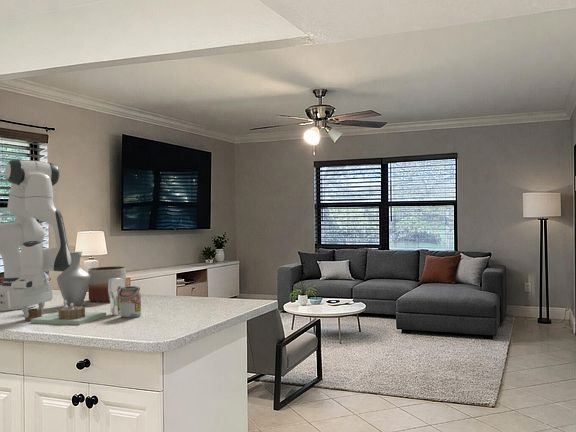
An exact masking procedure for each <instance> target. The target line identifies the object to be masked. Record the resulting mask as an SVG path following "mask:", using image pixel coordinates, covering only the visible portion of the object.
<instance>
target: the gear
mask: <svg viewBox="0 0 576 432" xmlns="http://www.w3.org/2000/svg"><path fill="white" fill-rule="evenodd" d="M27 310H28V312H30V317H24V321H25V322H31V319H34V318H38V317H41V316H43V315H42V314H43V313H42V309H40V308H37V307H36V308H28V309H27Z"/></svg>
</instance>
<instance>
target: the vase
mask: <svg viewBox="0 0 576 432" xmlns="http://www.w3.org/2000/svg"><path fill="white" fill-rule="evenodd" d="M69 252H70V255H71V265H70V266H69V267H68V268H67V269H66V270H65V271H63V272H62V271H61V273H59V274H58V275H57V277H56V282H57V286H58V288H59V290H60V294H61V297H62V299H63V302H64V301H65V300H66V302H67V306H68V307H70V303H73V306H76V307H83V303H84V301H85V298H86V295H87V292H88V290H89V289H88V286H89V282H90V275H89V274H88V272H87V271H85V270H84V269H83V268H82V266H81V264H80V262H81V257H82V255H83V251H69Z"/></svg>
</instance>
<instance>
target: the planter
mask: <svg viewBox="0 0 576 432" xmlns="http://www.w3.org/2000/svg"><path fill="white" fill-rule="evenodd" d="M87 270H88V272H87V273H88V274H89V275H90V282H89V286H88V289H87V290H88V301H90V302H92V303H110V299H109V294H108V279H110V278H125V287H127V276H126V275H127V273H126V266H118V265H117V266H116V265H115V266H114V265H113V266H97V267H90V268H88V269H87Z"/></svg>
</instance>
